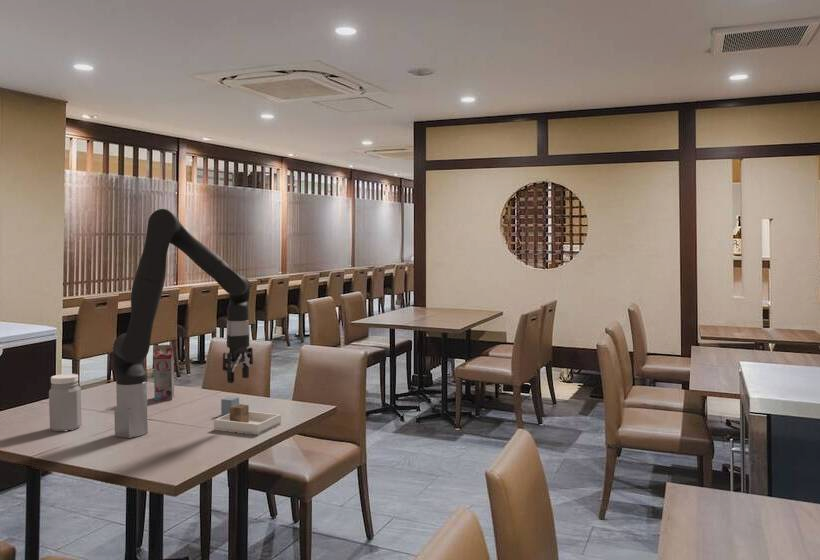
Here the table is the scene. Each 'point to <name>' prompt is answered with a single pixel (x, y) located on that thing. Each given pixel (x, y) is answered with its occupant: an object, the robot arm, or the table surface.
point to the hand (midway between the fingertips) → (238, 380)
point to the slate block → (228, 404)
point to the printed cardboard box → (163, 372)
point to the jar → (65, 402)
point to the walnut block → (239, 413)
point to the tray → (249, 423)
